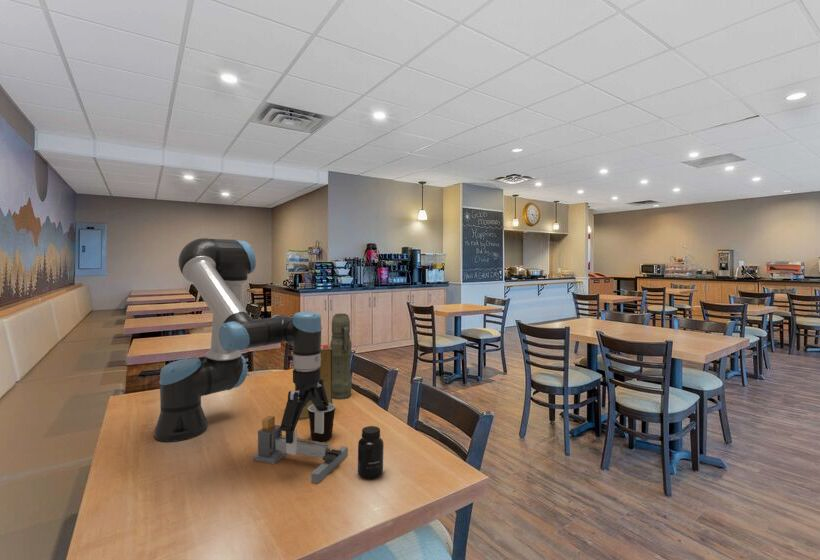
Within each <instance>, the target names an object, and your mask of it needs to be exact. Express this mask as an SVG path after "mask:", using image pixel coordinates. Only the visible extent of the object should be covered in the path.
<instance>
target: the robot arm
mask: <svg viewBox="0 0 820 560" xmlns="http://www.w3.org/2000/svg"><path fill="white" fill-rule="evenodd" d="M177 263H178V267H179V271H180V273H181V274H182V276H183V277H184V279H185V280H186V281H188V282H191V283H192V285H193V286H194V287H195V289H196V290H197V293H199V295H200V296H201V298H202V300H203V302H204V303H205V304H206V306H207V307H208V308H209V310H210V311H211V313H212V324H211V326H212V327H211V339H210V349H208V351H206V353H205V358H204V360H202V361H201V359H200V358H197V357H191V358H184V359H179V360H175V361H172V362H170V363H167V364H165V365H164V366H163V367H162V368H161V370H160V373H159V374H160V375H159V381H158V382H159V393H160V394H159V395H160V397H159V399H160V402H159V403H160V412H159V417H158V419H157V423H156V426H155V428H154V436H153V437H154V438H155V440H157V441H160V442H178V441H184V440H189V439H192V438H195V437H197V436H199V435H202V434H203V433H204V432H206V431H207V429H208V419H207V418H206V416H205V412H204V410H203V407H202V397H204V396H208V395H212V394H217V393H221V392H225V391H230V390H233V389H235V388H238V387H240V386H241V385H243V383H244V382H245V380H246V378H247V374H248V365H247V363H248V362H247V359H246V358H245V357H244V356H243V355H242V352H241V351H243V350H248V349H252V348H253V349H254V348H258V347H264V346H270V345H271V346H272V345H276V344H282V343H286V344H290V345H292V368H293V370H292V382H293V384H294V386H295V385H296V390H295V389H294V391H290V390H289V391H288V393H287V401H286V405H285V408H284V413H283V416H282V419H281V423H280V430H281V431H282V432H285V436H286V453H287V455H292V456H296V455H298V454H297V438H298V433H297V432H298V430H297V429H296V427H297V424H298V422H299V420H300V419H299V417H300V414H301V412H302V409H303V407H305V406H306V403H308V402H309V401H310V400H311V401H312V403H313V404H314V406H315V407H316V409H318V410H316V411H315V431H314V432H315V433H320V434H323V433H324V411H327V410H328V407H326V406H328V405H329V402H328V399H327V396H326V392H325V389H324V384H323V379H321V369H320V368H319V367H320V366H321V345H322V329H323V328H322V317H321V315H320V313H319V312H315V311H299V312H295V313H294V314H293V316H288V315H286V314H281V315H280V314H274V315H272V316H270V317H267V318H256V319H253V318H252V317H251V315H250V314H249V313H248V312H247V309H246V308H244V306H243V305H242V292H243V291H242V290H243V284H244V283H246V282H247V281H248V275H251V273H253V272H254V271H255V269H256V264H257V260H256V254H255V251H254V249H253V247H252V245H251V244H250V243H249V242H247V241H244V240H238V239H227V238H226V239H224V238H210V237H209V238H208V237H207V238H206V237H203V238H197V239H194V240H192V241H190V242H188V243H187V244H186V245H184V246H183V248H182V249H181V251H180V253H179V256H178V262H177ZM298 400H299V401H300V402H298ZM323 401H324V402H323Z"/></svg>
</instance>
